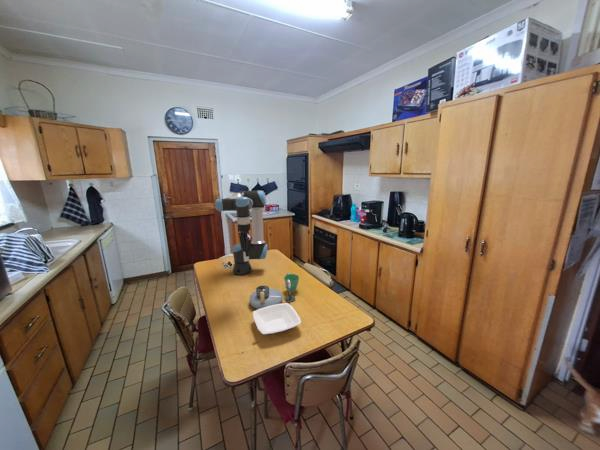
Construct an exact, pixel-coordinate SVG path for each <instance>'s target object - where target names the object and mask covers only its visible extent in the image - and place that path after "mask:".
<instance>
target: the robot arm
mask: <svg viewBox="0 0 600 450" xmlns="http://www.w3.org/2000/svg"><path fill="white" fill-rule="evenodd" d="M214 206H215V210H216V211H218V212H230V211H231V212H233V211H235V212H236V221H237V231H239V232H237V233H238V235H237V236H238V239H239V242H238V243H236V244H235V245H233V247H232V249H233V251H232V253H233V267H232V274H234V275H236V276H244V275H248V274H251V273H252V271H253V267H252V264H251V263H250V260H265V259H266V258H267V255H268V247H269V245H268V244H267V242H266V240H264V214H263V211H264V209H265V206H267V199H266V193H265V192H264V190H241V191H237V192H235V193H233V194H231V196H228V197H226V198H216V200H215V202H214ZM250 210H251V215H250ZM250 230H251V233H252V235H251V236H250Z"/></svg>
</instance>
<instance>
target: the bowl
mask: <svg viewBox="0 0 600 450" xmlns="http://www.w3.org/2000/svg"><path fill="white" fill-rule="evenodd" d="M252 318H253V321H254V323H255V325H256V328H257V330H258V331H259V332H260V333H261V334H262V335H269V334H270V335H271V334H277V333H280V332H284V331H287V330H290V329H292V328H295V327H297V326H298V325H301V324H302V320H301V317H300V316H299V314H298V313H297V311H296V310H295V308H294V307H293V306H292V305H290V303H288V302H285V303H283V302H281V303H280V304H276V305H271V306H267V307H264V308H260V309H256V310H253V311H252Z"/></svg>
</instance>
